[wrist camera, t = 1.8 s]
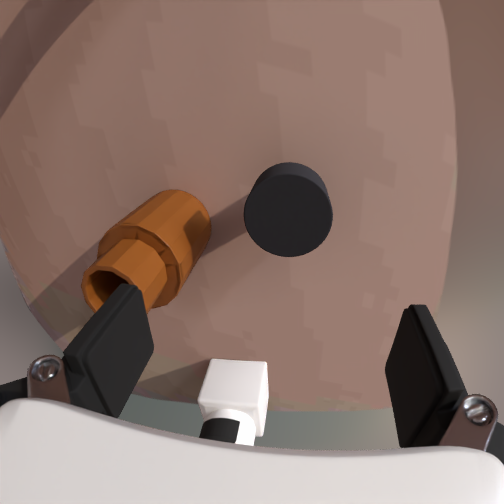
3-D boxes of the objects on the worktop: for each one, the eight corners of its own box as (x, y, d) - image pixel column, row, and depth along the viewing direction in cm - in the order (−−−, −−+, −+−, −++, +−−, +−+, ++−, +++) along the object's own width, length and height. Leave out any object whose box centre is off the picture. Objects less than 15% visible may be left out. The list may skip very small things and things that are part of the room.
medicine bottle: (218, 391, 42) (198, 463, 31) (210, 357, 39) (184, 434, 28) (269, 395, 41) (258, 470, 30) (267, 360, 38) (253, 443, 27)
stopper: (257, 153, 27) (242, 171, 20) (326, 156, 26) (336, 176, 20) (257, 218, 30) (244, 254, 23) (322, 221, 29) (328, 259, 22)
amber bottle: (139, 189, 30) (58, 246, 18) (209, 189, 29) (151, 253, 17) (148, 254, 33) (85, 331, 22) (213, 259, 32) (169, 347, 21)
